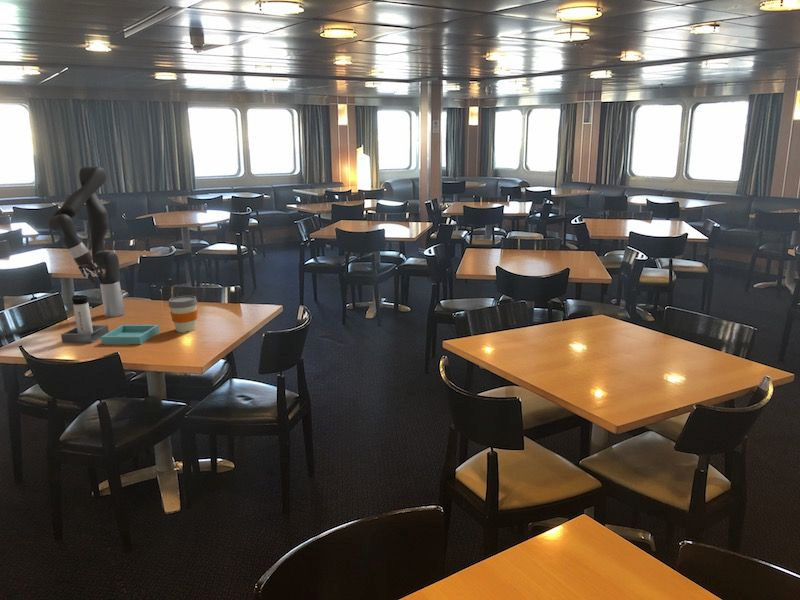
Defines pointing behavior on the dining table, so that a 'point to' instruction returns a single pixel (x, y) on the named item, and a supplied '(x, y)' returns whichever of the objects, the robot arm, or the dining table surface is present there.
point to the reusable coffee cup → (183, 312)
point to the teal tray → (130, 334)
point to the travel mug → (82, 314)
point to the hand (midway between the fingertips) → (99, 283)
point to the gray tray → (84, 335)
